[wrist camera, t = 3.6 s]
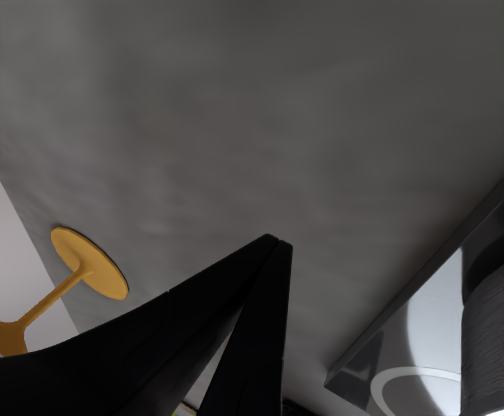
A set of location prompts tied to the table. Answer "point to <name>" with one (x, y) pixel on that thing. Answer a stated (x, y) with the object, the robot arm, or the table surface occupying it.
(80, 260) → the cup
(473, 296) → the steel pot
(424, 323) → the hob
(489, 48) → the table surface
